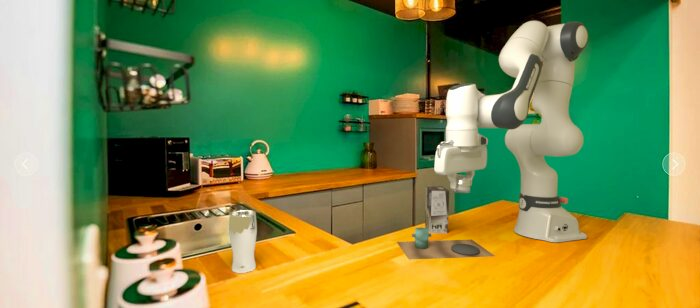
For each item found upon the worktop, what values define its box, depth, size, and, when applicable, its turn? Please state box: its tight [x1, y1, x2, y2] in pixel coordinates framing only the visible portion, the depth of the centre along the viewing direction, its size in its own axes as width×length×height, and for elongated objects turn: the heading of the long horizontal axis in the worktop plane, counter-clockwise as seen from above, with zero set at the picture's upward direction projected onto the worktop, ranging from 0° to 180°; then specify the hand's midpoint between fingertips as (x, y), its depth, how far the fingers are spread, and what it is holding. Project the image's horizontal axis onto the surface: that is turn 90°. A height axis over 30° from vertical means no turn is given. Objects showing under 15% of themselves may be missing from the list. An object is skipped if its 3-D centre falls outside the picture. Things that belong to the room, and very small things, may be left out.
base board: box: [396, 227, 495, 260], centre depth 97 cm, size 25×14×7 cm, turn 96°
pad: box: [451, 244, 480, 256], centre depth 96 cm, size 8×8×1 cm
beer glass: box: [228, 209, 258, 274], centre depth 86 cm, size 7×7×15 cm
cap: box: [451, 173, 471, 194], centre depth 96 cm, size 5×5×5 cm
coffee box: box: [424, 185, 450, 234], centre depth 116 cm, size 9×6×16 cm
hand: (461, 186), depth 96 cm, fingers closed on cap, 5 cm apart
